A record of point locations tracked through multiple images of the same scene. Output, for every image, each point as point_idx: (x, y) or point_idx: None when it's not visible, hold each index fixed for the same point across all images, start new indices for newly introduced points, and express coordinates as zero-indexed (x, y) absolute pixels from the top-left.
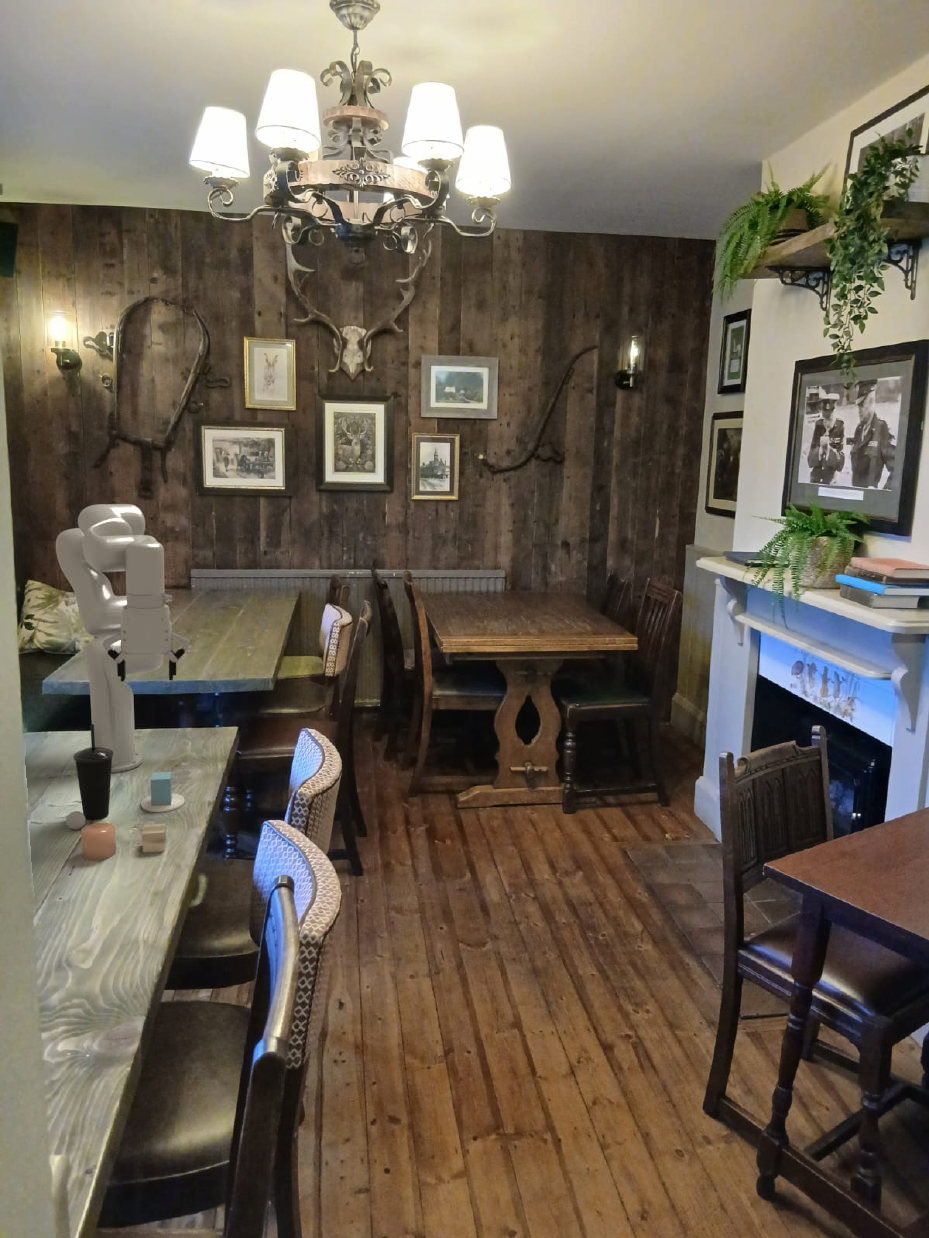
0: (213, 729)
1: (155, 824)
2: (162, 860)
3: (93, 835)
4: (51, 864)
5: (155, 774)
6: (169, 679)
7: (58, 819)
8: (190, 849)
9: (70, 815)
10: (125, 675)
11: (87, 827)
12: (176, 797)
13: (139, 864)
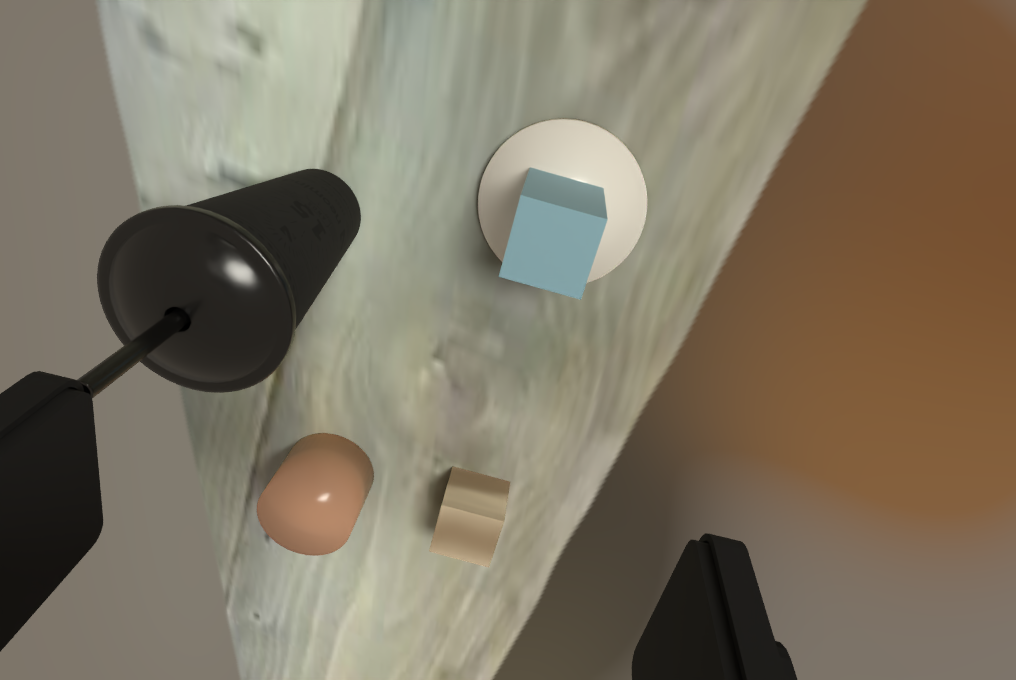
0: None
1: (473, 516)
2: (481, 565)
3: (292, 547)
4: (217, 476)
5: (530, 221)
6: (636, 662)
7: (195, 190)
8: (561, 545)
9: None
10: (71, 430)
11: (273, 495)
12: (619, 192)
13: (424, 560)
